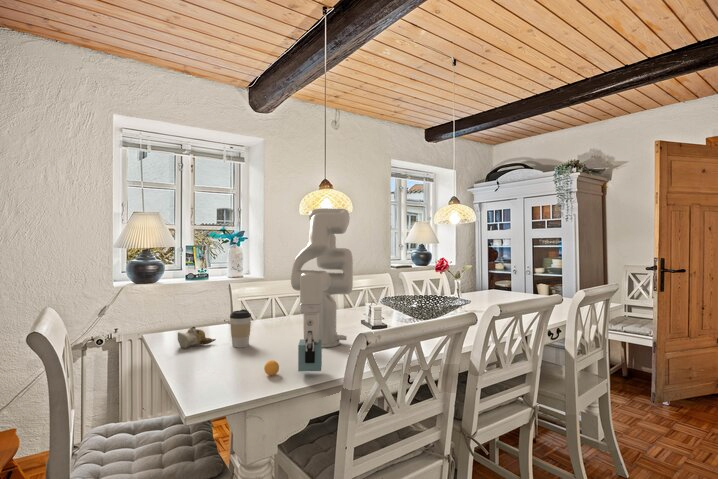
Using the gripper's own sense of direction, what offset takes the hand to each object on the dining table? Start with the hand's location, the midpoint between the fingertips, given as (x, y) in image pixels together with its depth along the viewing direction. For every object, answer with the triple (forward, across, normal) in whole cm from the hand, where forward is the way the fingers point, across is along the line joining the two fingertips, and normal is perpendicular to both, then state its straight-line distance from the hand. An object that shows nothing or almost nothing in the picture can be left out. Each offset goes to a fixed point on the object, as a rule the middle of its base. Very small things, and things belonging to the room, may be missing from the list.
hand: (310, 358), depth 138 cm
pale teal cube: (+3, 0, 0) cm, 3 cm away
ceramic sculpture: (+6, +39, +52) cm, 65 cm away
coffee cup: (+5, +38, +32) cm, 50 cm away
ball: (+3, 0, +13) cm, 14 cm away
